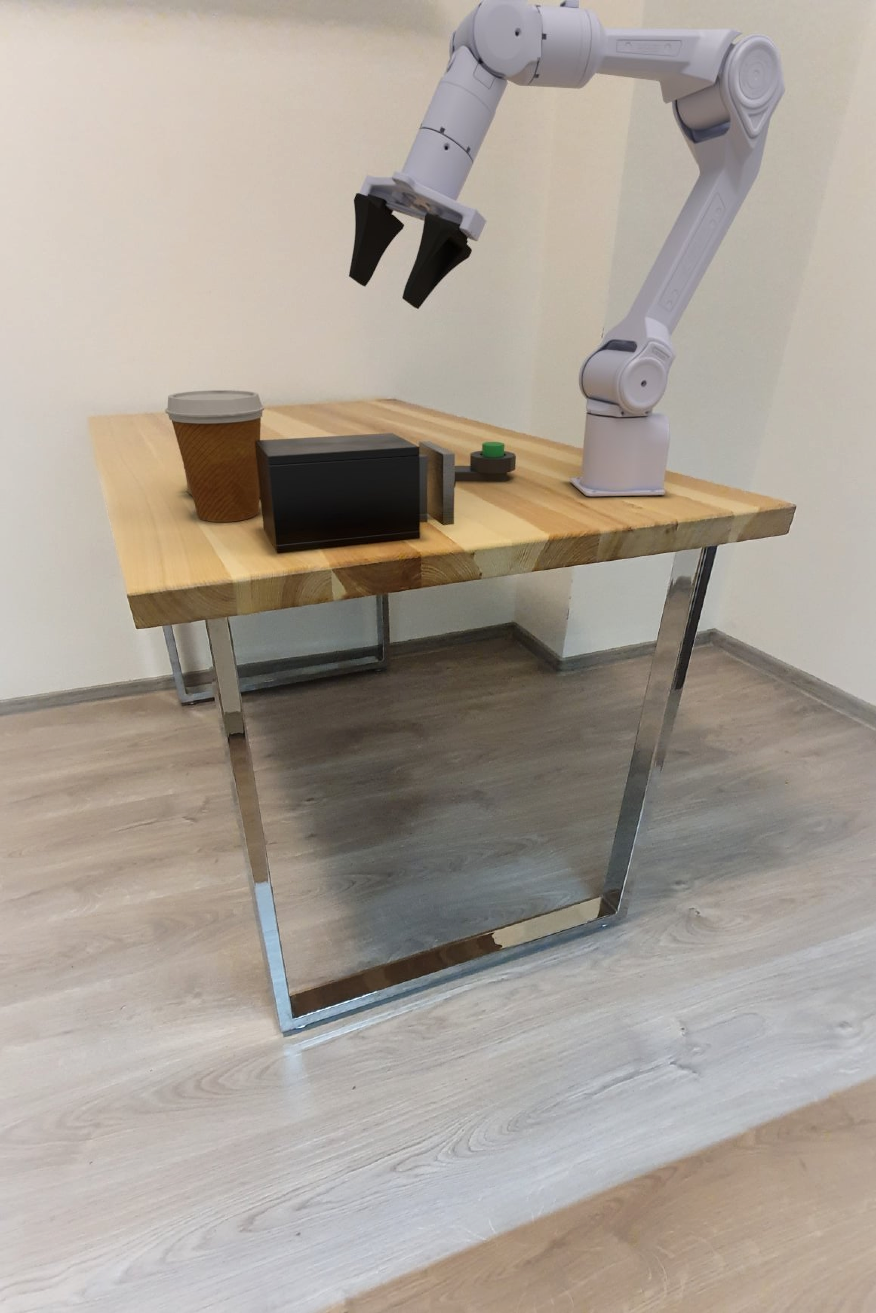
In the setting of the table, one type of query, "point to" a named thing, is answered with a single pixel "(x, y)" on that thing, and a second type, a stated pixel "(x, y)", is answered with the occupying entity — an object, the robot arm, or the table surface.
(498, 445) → the button
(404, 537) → the cabinet
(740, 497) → the table surface
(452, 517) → the drawer
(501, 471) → the control block
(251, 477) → the disposable coffee cup
